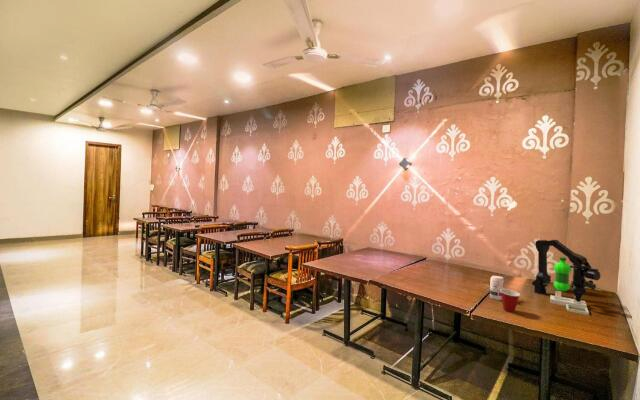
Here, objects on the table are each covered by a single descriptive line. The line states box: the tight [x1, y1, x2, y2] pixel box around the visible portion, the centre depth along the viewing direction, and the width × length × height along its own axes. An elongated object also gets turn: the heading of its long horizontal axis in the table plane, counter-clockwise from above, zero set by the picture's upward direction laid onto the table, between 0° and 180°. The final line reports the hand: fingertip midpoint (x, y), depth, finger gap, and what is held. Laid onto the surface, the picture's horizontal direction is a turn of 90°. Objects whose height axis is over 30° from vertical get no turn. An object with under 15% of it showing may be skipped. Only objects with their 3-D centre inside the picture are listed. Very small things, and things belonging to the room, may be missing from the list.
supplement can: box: [489, 275, 505, 301], centre depth 210 cm, size 8×8×15 cm
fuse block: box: [549, 294, 588, 308], centre depth 200 cm, size 18×10×4 cm, turn 54°
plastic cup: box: [500, 288, 521, 313], centre depth 189 cm, size 11×11×12 cm
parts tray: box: [565, 304, 590, 316], centre depth 189 cm, size 10×10×2 cm
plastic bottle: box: [553, 256, 572, 293], centre depth 230 cm, size 10×10×25 cm
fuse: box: [554, 290, 562, 300], centre depth 202 cm, size 3×3×7 cm
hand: (577, 299), depth 197 cm, fingers open, 9 cm apart
